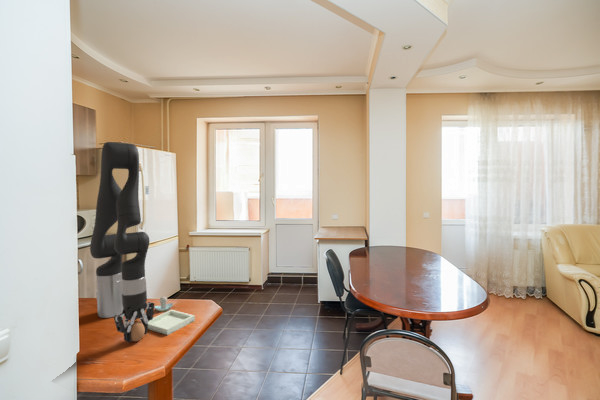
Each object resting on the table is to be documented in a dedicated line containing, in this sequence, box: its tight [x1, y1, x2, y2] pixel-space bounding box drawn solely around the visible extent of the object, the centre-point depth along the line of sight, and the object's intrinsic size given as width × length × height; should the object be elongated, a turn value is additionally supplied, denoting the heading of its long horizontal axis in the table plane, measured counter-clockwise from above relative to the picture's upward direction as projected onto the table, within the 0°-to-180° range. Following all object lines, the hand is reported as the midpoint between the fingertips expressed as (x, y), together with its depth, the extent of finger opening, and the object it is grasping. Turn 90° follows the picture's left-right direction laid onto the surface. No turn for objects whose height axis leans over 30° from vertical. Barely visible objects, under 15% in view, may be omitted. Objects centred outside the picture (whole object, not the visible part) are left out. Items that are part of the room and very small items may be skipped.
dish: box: [148, 309, 196, 336], centre depth 122 cm, size 13×13×2 cm
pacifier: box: [154, 296, 174, 312], centre depth 136 cm, size 7×6×6 cm
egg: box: [130, 320, 145, 342], centre depth 109 cm, size 5×5×7 cm
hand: (136, 337), depth 110 cm, fingers closed on egg, 5 cm apart
